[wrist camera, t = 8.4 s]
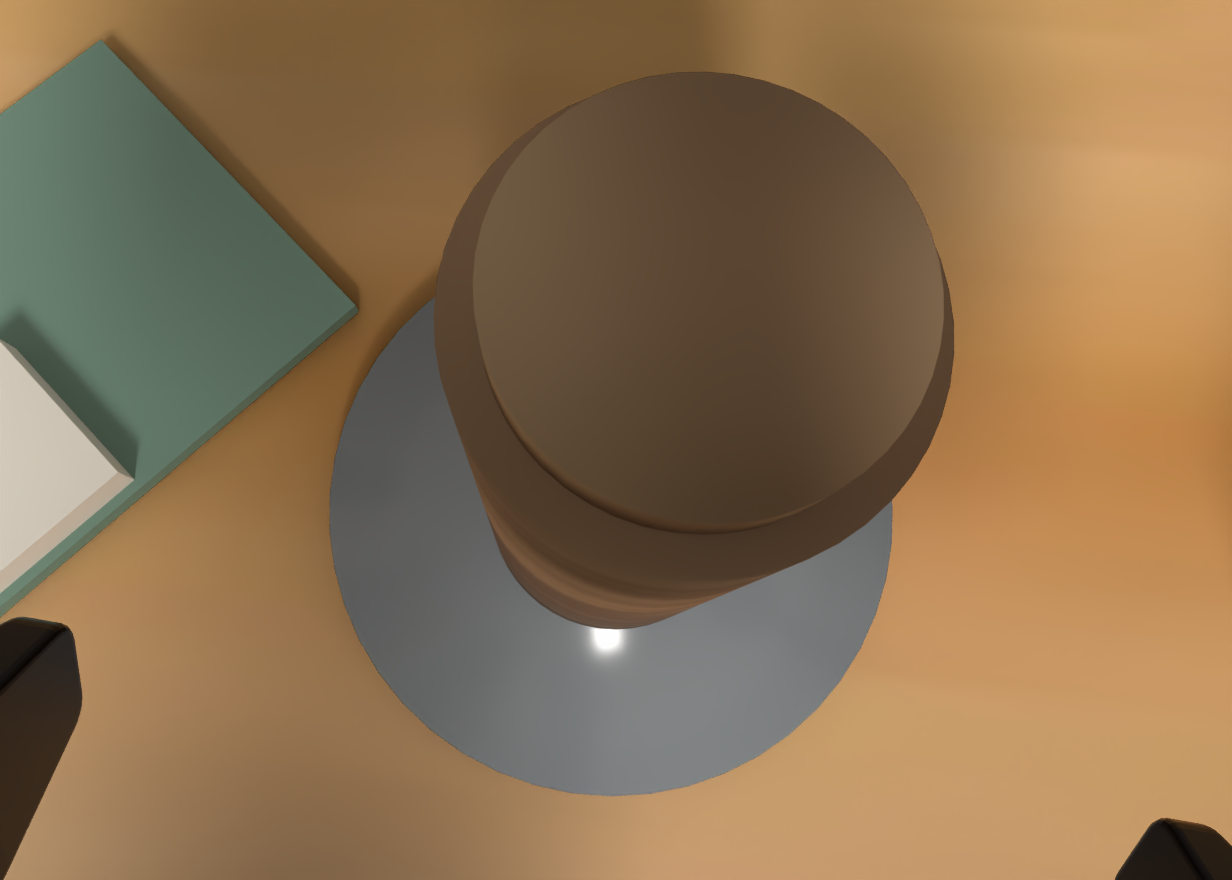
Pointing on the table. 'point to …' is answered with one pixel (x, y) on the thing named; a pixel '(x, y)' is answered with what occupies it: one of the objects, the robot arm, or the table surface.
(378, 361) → the trivet
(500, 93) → the table surface
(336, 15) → the table surface
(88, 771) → the table surface
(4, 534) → the mat
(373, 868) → the table surface
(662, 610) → the pepper mill
